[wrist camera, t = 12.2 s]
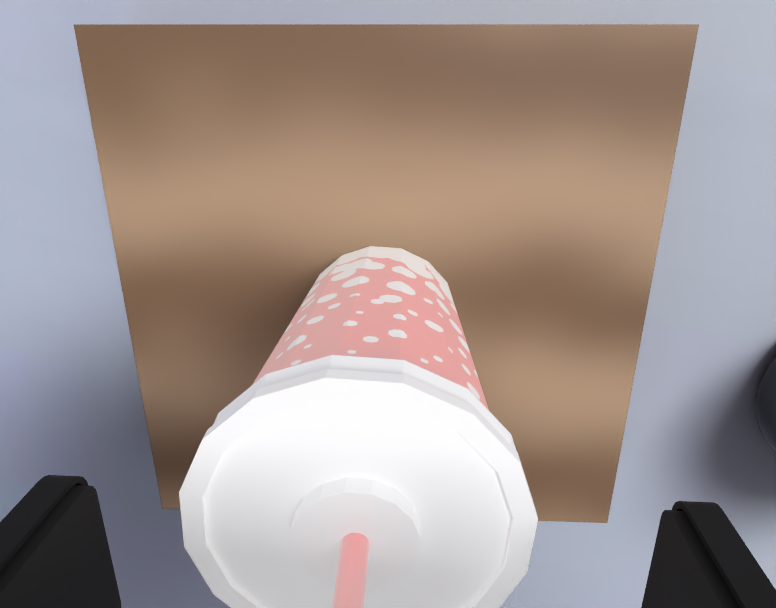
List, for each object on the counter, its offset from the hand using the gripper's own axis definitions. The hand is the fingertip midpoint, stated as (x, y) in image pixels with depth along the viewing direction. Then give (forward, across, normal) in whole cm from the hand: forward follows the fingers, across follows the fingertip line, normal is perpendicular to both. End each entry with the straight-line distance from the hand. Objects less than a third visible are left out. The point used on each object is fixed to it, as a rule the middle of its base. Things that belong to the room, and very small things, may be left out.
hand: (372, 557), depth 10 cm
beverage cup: (+10, 0, 0) cm, 10 cm away
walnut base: (+12, +1, -1) cm, 12 cm away
